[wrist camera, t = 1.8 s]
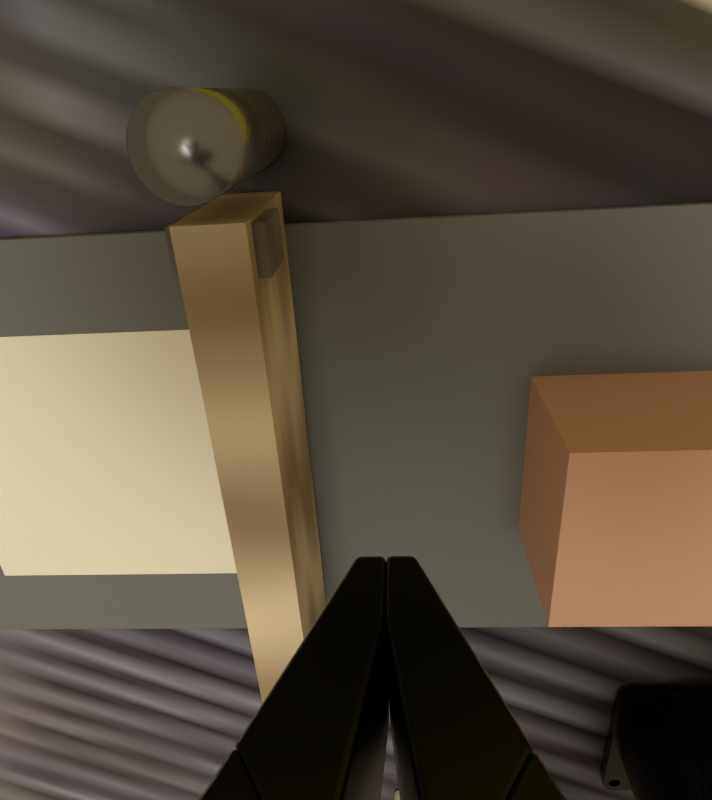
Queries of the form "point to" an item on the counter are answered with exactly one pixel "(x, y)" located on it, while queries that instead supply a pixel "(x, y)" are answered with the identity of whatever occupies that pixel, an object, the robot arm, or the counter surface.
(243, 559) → the tan wooden bar
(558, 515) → the block
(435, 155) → the counter surface
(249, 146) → the olive long rounded piece
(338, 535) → the grey panel
